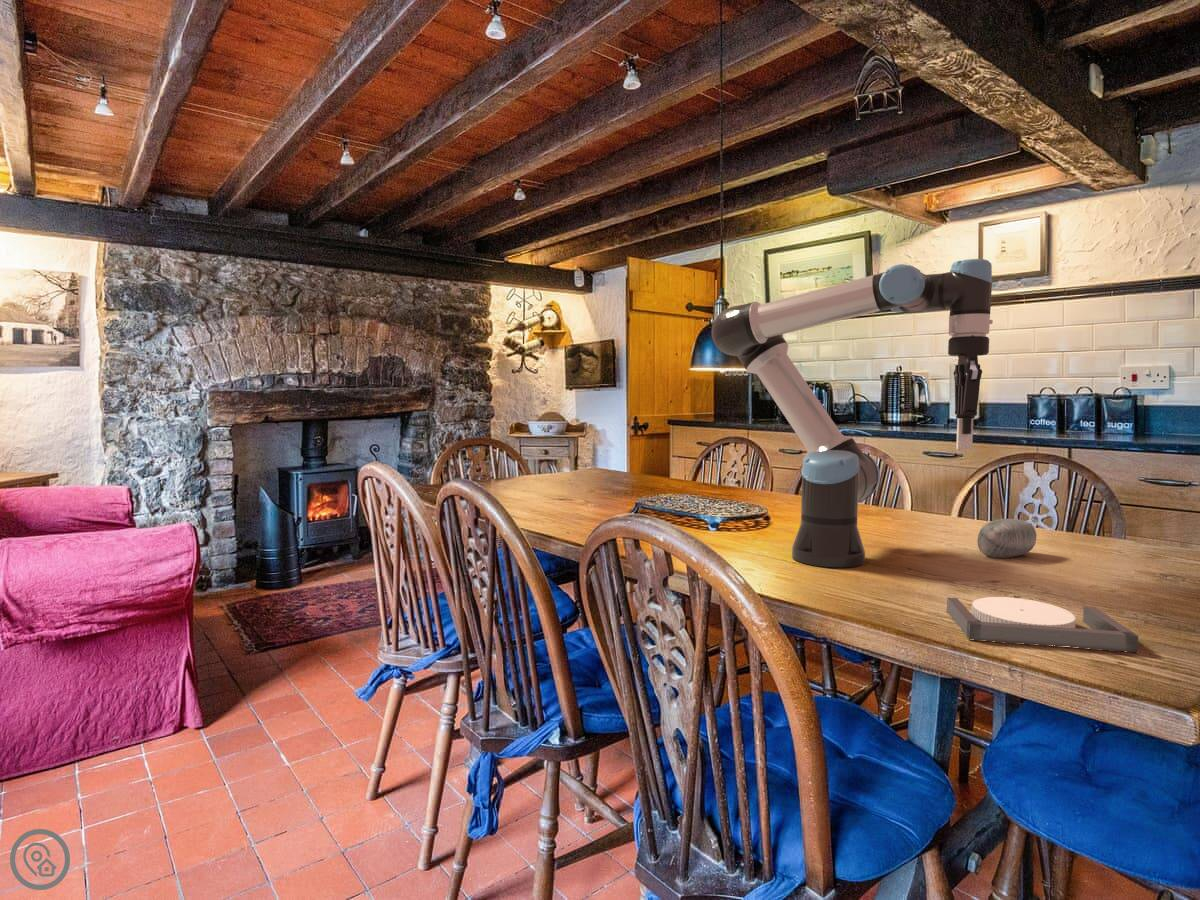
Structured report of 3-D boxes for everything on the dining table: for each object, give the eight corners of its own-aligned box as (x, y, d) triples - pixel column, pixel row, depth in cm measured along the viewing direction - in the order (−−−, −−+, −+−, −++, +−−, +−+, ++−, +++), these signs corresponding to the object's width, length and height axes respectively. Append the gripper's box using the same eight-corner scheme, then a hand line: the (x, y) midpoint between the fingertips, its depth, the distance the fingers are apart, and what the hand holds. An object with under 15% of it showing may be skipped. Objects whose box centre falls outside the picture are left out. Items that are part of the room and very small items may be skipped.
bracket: (969, 640, 102) (970, 624, 102) (946, 612, 116) (947, 597, 115) (1137, 653, 97) (1138, 635, 97) (1093, 622, 110) (1094, 606, 110)
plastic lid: (981, 606, 120) (982, 592, 119) (1079, 623, 111) (1080, 608, 111) (962, 627, 109) (962, 612, 109) (1069, 648, 100) (1070, 631, 100)
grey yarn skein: (1004, 532, 163) (1017, 500, 158) (1039, 558, 156) (1054, 525, 150) (960, 551, 159) (972, 518, 153) (995, 578, 152) (1008, 545, 146)
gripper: (998, 333, 137) (992, 452, 139) (980, 338, 150) (975, 447, 152) (956, 334, 139) (951, 451, 141) (942, 339, 151) (938, 446, 153)
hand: (964, 449), depth 146 cm, fingers closed
